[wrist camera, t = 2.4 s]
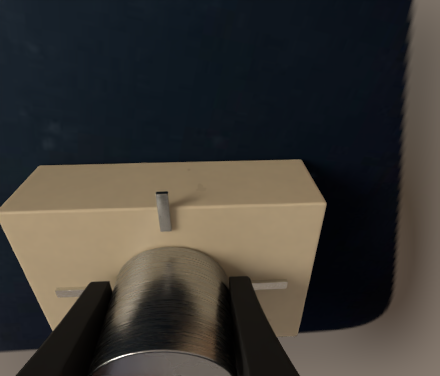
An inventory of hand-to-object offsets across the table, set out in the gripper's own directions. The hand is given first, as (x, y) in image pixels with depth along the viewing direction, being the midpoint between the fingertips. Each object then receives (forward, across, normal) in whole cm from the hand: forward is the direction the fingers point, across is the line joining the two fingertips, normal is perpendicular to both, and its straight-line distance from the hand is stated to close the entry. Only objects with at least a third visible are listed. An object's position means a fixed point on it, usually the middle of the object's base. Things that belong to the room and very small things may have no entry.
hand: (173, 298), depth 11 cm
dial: (0, 0, 0) cm, 0 cm away
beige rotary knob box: (+3, 0, 0) cm, 3 cm away
